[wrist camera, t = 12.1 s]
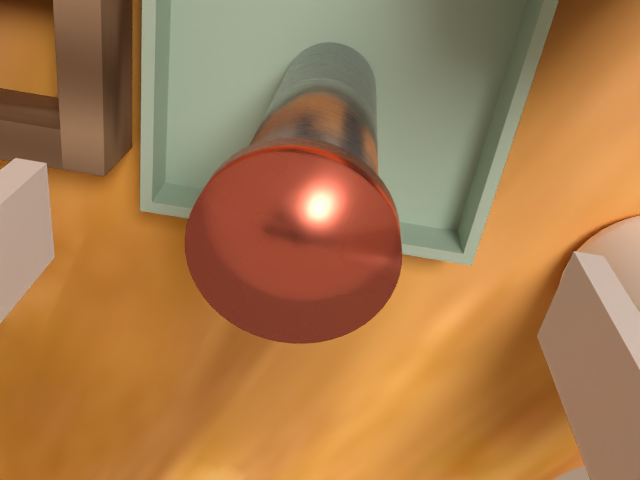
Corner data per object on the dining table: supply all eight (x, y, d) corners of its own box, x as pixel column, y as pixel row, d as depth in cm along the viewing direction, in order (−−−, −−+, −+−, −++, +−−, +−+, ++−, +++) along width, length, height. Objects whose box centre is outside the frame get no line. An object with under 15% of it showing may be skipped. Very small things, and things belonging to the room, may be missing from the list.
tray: (164, -107, 27) (143, -107, 24) (549, -38, 27) (569, -31, 25) (157, 186, 34) (140, 210, 31) (463, 237, 34) (471, 265, 32)
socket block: (-89, -98, 28) (-154, -97, 24) (132, -59, 28) (99, -53, 24) (-56, 115, 33) (-106, 141, 29) (132, 146, 33) (104, 176, 29)
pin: (280, 20, 29) (190, 135, 14) (398, 41, 29) (425, 176, 14) (266, 134, 31) (180, 325, 17) (375, 153, 31) (377, 358, 17)
